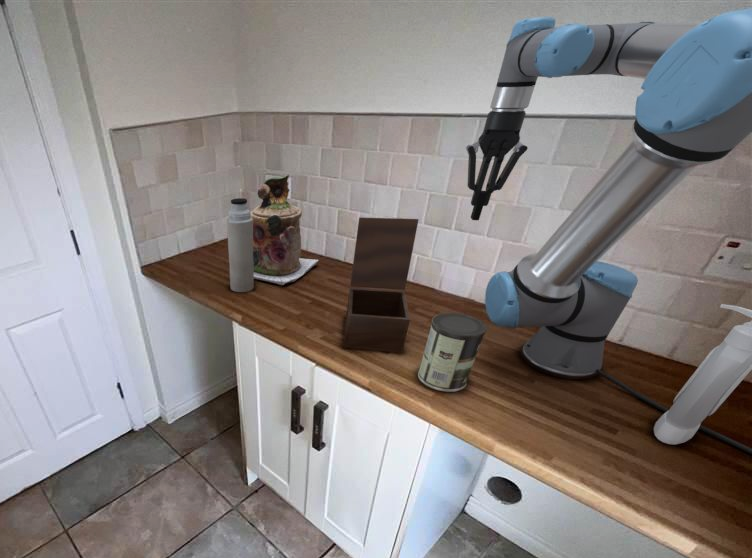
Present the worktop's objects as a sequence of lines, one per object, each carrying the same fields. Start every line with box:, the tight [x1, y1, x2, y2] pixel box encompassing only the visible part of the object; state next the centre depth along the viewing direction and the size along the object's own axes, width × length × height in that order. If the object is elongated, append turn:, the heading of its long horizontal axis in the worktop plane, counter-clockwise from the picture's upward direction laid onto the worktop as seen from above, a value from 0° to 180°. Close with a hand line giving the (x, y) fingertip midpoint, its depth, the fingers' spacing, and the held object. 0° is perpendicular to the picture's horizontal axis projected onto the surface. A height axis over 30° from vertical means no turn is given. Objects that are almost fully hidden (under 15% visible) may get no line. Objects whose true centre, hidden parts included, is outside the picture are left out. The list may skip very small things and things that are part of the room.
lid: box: [349, 216, 420, 291], centre depth 106 cm, size 18×14×1 cm
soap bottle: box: [653, 303, 752, 445], centre depth 69 cm, size 13×8×24 cm, turn 124°
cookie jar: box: [250, 174, 319, 286], centre depth 140 cm, size 25×25×32 cm
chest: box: [343, 287, 411, 354], centre depth 106 cm, size 17×14×9 cm
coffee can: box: [417, 312, 488, 393], centre depth 88 cm, size 10×10×14 cm
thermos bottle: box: [226, 197, 255, 293], centre depth 129 cm, size 8×8×28 cm
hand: (474, 218), depth 105 cm, fingers closed
